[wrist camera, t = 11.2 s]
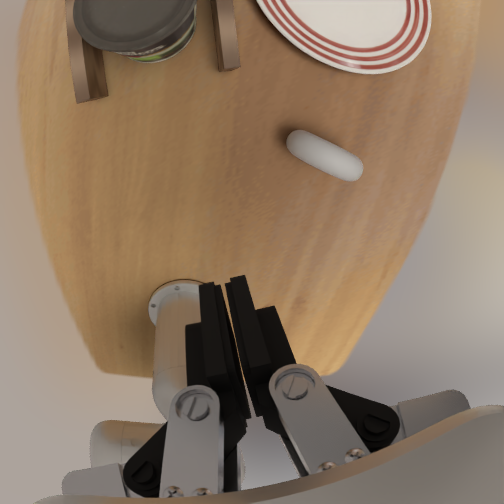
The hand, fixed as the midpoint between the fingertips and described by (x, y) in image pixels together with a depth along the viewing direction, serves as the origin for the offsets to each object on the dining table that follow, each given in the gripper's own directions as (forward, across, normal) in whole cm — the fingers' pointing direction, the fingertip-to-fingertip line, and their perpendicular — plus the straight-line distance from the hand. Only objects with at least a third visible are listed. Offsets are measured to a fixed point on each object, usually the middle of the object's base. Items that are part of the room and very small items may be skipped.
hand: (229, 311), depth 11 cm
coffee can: (+30, +3, -18) cm, 35 cm away
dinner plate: (+29, -22, -22) cm, 43 cm away
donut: (+30, -14, +2) cm, 33 cm away
